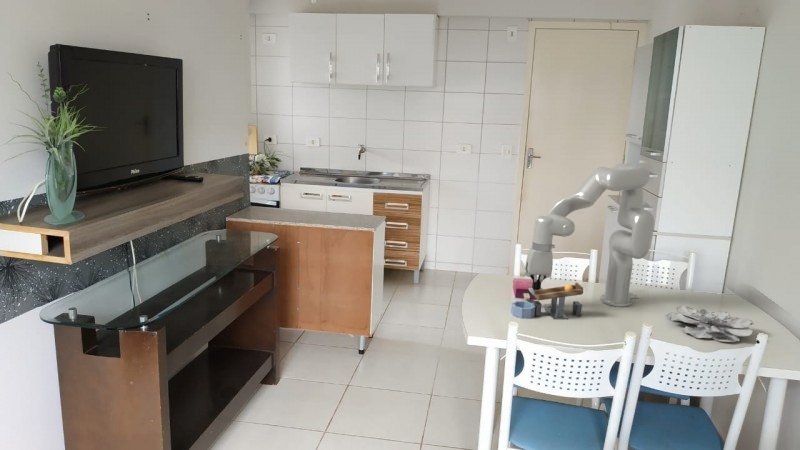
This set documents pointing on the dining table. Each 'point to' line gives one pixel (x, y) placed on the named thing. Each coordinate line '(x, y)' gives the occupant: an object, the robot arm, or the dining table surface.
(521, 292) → the popsicle
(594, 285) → the dining table surface
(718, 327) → the decorative wall flower
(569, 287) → the ball
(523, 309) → the cup
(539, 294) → the lever
